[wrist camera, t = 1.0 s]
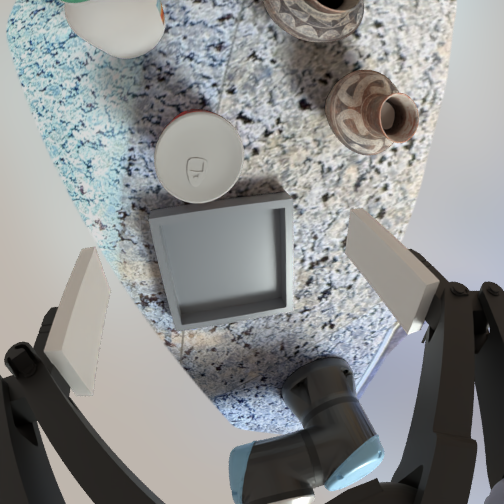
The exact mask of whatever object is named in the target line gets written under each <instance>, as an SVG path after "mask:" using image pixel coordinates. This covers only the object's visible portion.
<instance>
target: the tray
mask: <svg viewBox="0 0 504 504" xmlns="http://www.w3.org/2000/svg"><path fill="white" fill-rule="evenodd" d="M148 220H149V225H150V229H151V234H152V239H153V243H154V247H155V252H156V256H157V260H158V265H159V269H160V273H161V277H162V281H163V285H164V289H165V292H166V296H167V300H168V304H169V307H170V311H171V315H172V318H173V322H174V325H175V329H176V331H182V330H189V329H196V328H202V327H208V326H215V325H221V324H227V323H233V322H238V321H244V320H250V319H255V318H261V317H266V316H271V315H276V314H282V313H287V312H292V311H293V276H294V244H293V198H292V197H291V196H290V195H289V194H288V193H287V192H286V191H285V192H276V193H268V194H259V195H251V196H244V197H236V198H228V199H221V200H214V201H210V202H206V203H194V204H187V205H181V206H174V207H168V208H162V209H156V210H151V212H150V215H149V219H148Z"/></svg>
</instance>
